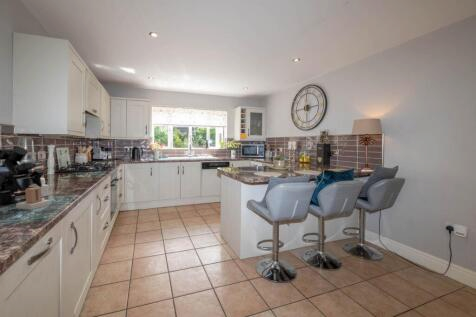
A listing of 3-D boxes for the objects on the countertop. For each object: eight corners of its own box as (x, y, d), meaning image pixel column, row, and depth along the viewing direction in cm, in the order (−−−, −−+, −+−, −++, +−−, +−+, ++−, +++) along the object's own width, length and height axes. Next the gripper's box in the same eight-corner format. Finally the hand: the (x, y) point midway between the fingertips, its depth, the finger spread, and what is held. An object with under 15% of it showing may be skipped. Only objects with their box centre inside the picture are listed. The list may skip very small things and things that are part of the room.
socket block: (16, 208, 118) (16, 203, 118) (37, 203, 128) (36, 198, 128) (31, 209, 116) (30, 205, 116) (51, 204, 126) (50, 200, 126)
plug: (26, 207, 120) (25, 188, 120) (35, 205, 125) (34, 187, 124) (33, 208, 119) (31, 189, 119) (42, 205, 124) (41, 187, 123)
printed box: (28, 197, 141) (27, 178, 140) (41, 194, 148) (40, 176, 147) (36, 198, 139) (35, 179, 138) (49, 195, 146) (48, 177, 145)
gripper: (0, 158, 112) (19, 181, 111) (40, 156, 130) (57, 175, 129) (-10, 173, 115) (8, 196, 113) (31, 168, 133) (46, 188, 131)
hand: (31, 188), depth 121 cm, fingers open, 9 cm apart
